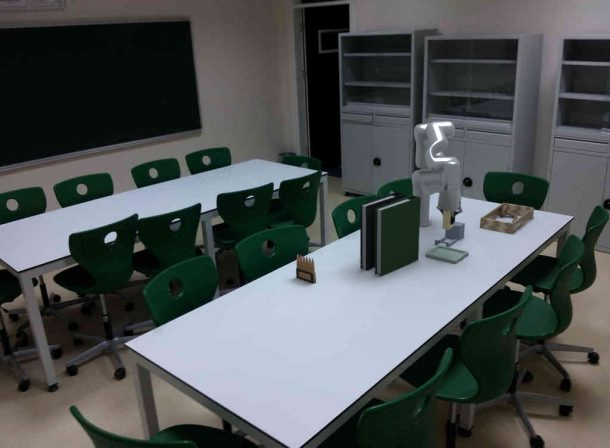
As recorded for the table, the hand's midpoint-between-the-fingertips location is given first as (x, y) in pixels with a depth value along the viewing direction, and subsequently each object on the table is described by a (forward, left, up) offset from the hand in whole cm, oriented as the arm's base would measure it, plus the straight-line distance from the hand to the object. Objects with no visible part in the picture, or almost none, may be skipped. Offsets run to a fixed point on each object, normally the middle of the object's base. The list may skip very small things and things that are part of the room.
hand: (448, 222), depth 259 cm
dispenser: (-8, +19, -17) cm, 27 cm away
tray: (0, 0, -17) cm, 17 cm away
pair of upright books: (-18, -25, -17) cm, 35 cm away
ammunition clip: (-39, -62, -17) cm, 75 cm away
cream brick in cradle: (0, 0, -2) cm, 2 cm away
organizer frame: (+6, +64, -17) cm, 67 cm away
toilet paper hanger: (+5, +66, -18) cm, 68 cm away
